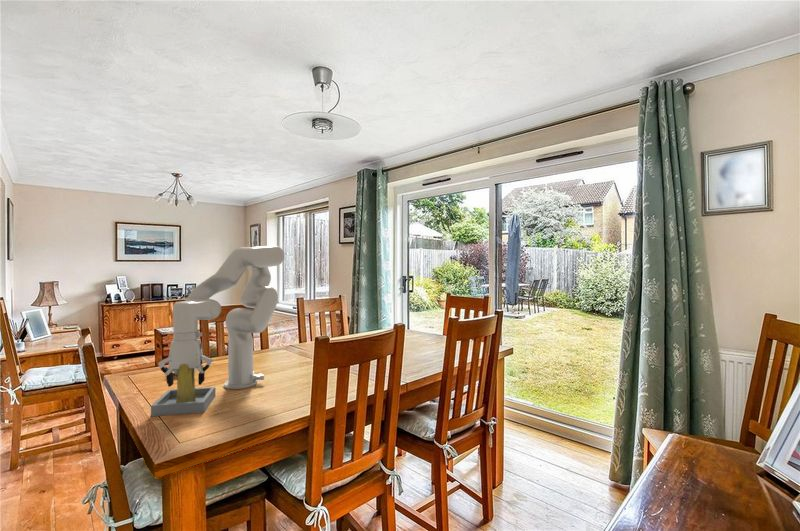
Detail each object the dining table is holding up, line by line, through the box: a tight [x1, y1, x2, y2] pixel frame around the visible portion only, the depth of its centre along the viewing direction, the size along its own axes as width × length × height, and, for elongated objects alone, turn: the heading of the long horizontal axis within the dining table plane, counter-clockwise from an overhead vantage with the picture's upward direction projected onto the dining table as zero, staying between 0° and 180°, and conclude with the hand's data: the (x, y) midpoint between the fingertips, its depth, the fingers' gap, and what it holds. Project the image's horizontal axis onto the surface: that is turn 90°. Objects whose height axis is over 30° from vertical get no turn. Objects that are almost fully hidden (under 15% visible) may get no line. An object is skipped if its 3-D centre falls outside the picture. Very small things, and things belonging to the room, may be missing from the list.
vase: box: [176, 364, 196, 403], centre depth 136 cm, size 6×6×14 cm
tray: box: [150, 386, 216, 417], centre depth 136 cm, size 16×16×4 cm
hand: (185, 384), depth 136 cm, fingers open, 9 cm apart
